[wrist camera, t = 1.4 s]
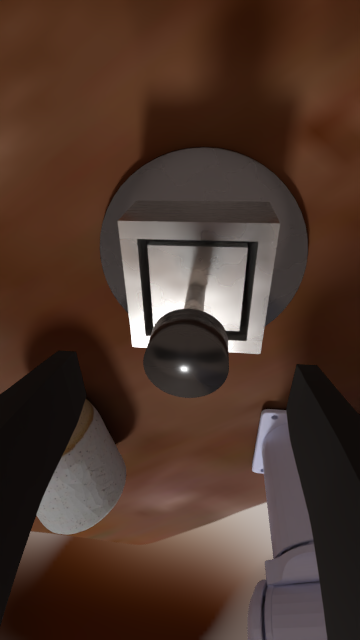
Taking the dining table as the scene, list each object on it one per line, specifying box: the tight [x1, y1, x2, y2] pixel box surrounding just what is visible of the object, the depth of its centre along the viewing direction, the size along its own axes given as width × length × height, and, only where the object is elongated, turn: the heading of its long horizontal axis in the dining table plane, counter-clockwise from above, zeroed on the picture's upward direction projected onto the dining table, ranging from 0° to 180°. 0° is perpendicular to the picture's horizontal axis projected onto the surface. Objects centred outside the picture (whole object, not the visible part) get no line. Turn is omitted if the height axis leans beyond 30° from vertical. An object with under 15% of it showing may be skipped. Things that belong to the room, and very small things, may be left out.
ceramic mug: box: [37, 399, 126, 534], centre depth 26 cm, size 11×8×8 cm
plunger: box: [143, 241, 248, 398], centre depth 14 cm, size 5×5×6 cm
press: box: [100, 147, 308, 354], centre depth 18 cm, size 12×12×4 cm
